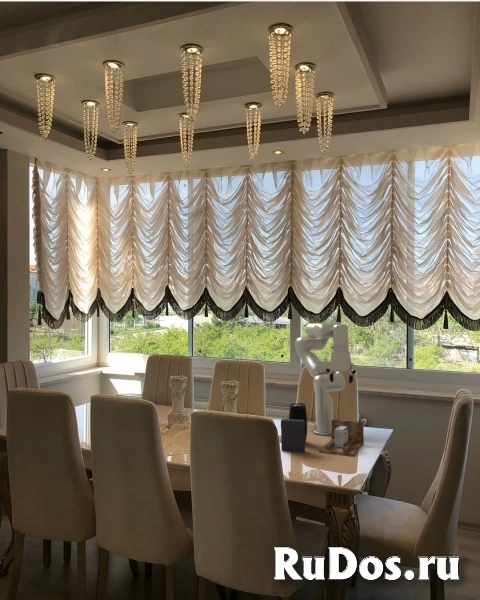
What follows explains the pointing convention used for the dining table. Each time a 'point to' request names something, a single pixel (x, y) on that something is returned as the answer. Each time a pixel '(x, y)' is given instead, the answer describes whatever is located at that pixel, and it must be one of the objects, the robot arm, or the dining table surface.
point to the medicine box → (341, 436)
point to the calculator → (293, 435)
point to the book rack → (353, 438)
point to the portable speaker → (299, 414)
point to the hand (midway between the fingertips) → (341, 382)
